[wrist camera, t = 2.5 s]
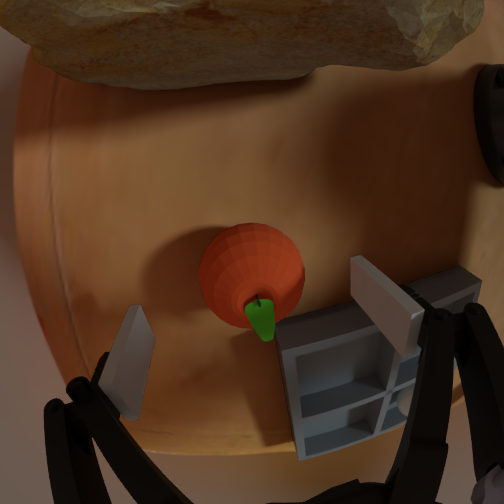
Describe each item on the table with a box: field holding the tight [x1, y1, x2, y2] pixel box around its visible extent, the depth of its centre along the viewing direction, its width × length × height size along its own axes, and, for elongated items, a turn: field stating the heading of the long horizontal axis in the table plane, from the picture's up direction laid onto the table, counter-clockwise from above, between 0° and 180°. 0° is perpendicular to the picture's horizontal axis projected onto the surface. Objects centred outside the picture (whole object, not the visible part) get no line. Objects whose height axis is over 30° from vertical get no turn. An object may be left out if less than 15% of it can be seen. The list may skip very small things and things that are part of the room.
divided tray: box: [274, 265, 482, 461], centre depth 27 cm, size 22×22×4 cm
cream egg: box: [397, 383, 415, 417], centre depth 27 cm, size 5×5×5 cm
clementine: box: [199, 223, 305, 341], centre depth 18 cm, size 8×7×7 cm
